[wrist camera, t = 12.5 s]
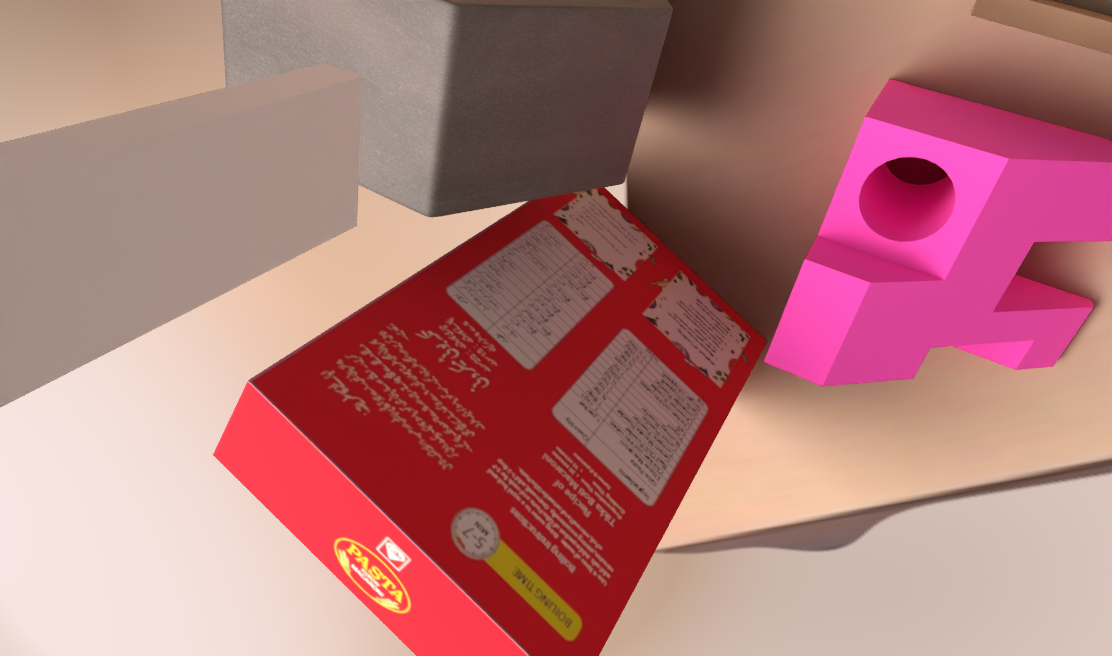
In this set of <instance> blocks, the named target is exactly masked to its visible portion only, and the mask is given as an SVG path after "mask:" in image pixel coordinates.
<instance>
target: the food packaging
mask: <svg viewBox="0 0 1112 656" xmlns="http://www.w3.org/2000/svg"><path fill="white" fill-rule="evenodd" d="M766 343H767V341H766V340H765V339H764V338H763V337H762V336H761V335H760V334H759V333H758V332H757V331H756V330H755V329H754V328H753V327H752V326H751V325H750V324H748V323H747V322H746V321H745V320H744V319H743V318H742V317H741V316H740V315H739V314H738V313H737V312H736V311H735V310H734V309H733V308H732V307H730V306H729V305H728V304H727V303H726V302H725V301H724V300H723V299H722V298H721V297H720V296H719V295H718V294H717V293H716V292H715V291H714V290H712V289H711V288H710V287H709V286H708V285H707V284H706V283H705V282H704V281H703V280H702V279H701V278H700V277H699V276H698V275H697V274H696V273H694V272H693V271H692V270H691V269H690V268H689V267H688V266H687V265H686V264H685V263H684V262H683V261H682V260H681V259H680V258H679V257H678V256H676V255H675V254H674V253H673V252H672V251H671V250H670V249H669V248H668V247H667V246H666V245H665V244H664V243H663V242H662V241H661V240H659V239H658V238H657V237H656V236H655V235H654V234H653V233H652V232H651V231H650V230H649V229H648V228H647V227H646V226H645V225H644V224H643V223H641V222H640V221H639V220H638V219H637V218H636V217H635V216H634V215H633V214H632V213H631V212H630V211H629V210H628V209H627V208H626V207H625V206H623V205H622V204H621V203H620V202H619V201H618V200H617V199H616V198H615V197H614V196H613V195H612V194H611V193H610V192H609V191H607V189H605V188H604V187H603V188H597V189H591V190H586V191H580V192H574V193H569V194H563V195H558V196H552V197H546V198H541V199H535V200H529V201H528V202H526V203H525V204H523V205H522V206H520V207H519V208H517V209H515V210H514V211H512V212H511V213H509V214H508V215H506V216H505V217H503V218H501V219H500V220H498V221H497V222H495V223H494V224H492V225H490V226H489V227H487V228H486V229H484V230H483V231H481V232H479V233H478V234H476V235H475V236H473V237H472V238H470V239H469V240H467V241H465V242H464V243H462V244H461V245H459V246H458V247H456V248H455V249H453V250H451V251H450V252H448V253H447V254H445V255H444V256H442V257H440V258H439V259H438V260H436V261H434V262H433V263H431V264H429V265H428V266H426V267H425V268H423V269H422V270H420V271H419V272H417V273H415V274H414V275H412V276H411V277H409V278H408V279H406V280H404V281H403V282H401V283H400V284H398V285H397V286H395V287H394V288H392V289H390V290H389V291H387V292H386V293H384V294H383V295H381V296H379V297H378V298H376V299H375V300H373V301H372V302H370V303H369V304H367V305H365V306H364V307H362V308H361V309H359V310H358V311H356V312H354V313H353V314H351V315H350V316H348V317H347V318H345V319H344V320H342V321H340V322H339V323H337V324H336V325H334V326H333V327H331V328H329V329H328V330H326V331H325V332H323V333H322V334H321V335H319V336H317V337H316V338H314V339H312V340H311V341H309V342H308V343H306V344H304V345H303V346H301V347H300V348H298V349H297V350H295V351H293V352H292V353H290V354H289V355H287V356H286V357H284V358H283V359H281V360H279V361H278V362H276V363H275V364H273V365H272V366H270V367H268V368H267V369H265V370H264V371H262V372H261V373H259V374H258V375H256V376H255V377H253V378H251V379H250V380H248V382H247V384H246V386H245V388H244V390H243V393H242V395H241V397H240V399H239V401H238V403H237V405H236V407H235V409H234V411H233V414H232V416H231V418H230V420H229V422H228V424H227V426H226V428H225V431H224V433H223V435H222V437H221V439H220V441H219V443H218V445H217V447H216V450H215V452H214V454H213V455H214V456H215V457H216V458H217V459H218V460H219V461H220V462H221V463H222V464H223V465H224V466H225V467H226V468H227V469H228V470H229V471H230V472H231V473H232V474H233V475H234V476H235V477H236V478H237V479H238V480H239V481H240V482H241V483H242V484H243V485H244V486H245V487H246V488H247V489H248V490H249V491H250V492H251V493H252V494H253V495H254V496H255V497H256V498H257V499H258V500H259V501H260V502H261V503H262V504H263V505H264V506H265V507H266V508H267V509H269V511H270V512H271V513H272V514H273V515H274V516H275V517H276V518H278V519H279V520H280V522H281V523H282V524H283V525H285V526H286V527H287V528H288V529H289V530H290V531H291V532H292V533H293V534H294V535H295V536H296V537H297V538H298V539H299V540H300V541H301V542H302V543H303V544H304V545H305V546H306V547H307V548H308V549H309V550H310V551H311V552H312V553H313V554H314V555H315V556H316V557H317V558H318V559H319V560H320V561H321V562H322V563H323V564H324V565H325V566H326V567H327V568H328V569H329V570H330V571H331V572H332V573H333V574H334V575H336V577H337V578H338V579H339V580H340V581H341V582H342V583H343V584H344V585H345V586H346V587H347V588H348V589H349V590H350V591H351V592H352V593H354V594H355V596H356V597H358V599H359V600H361V601H362V602H363V603H364V604H365V605H366V606H367V607H368V608H369V609H370V610H371V611H372V612H373V613H374V614H375V615H376V616H377V617H378V618H379V619H380V620H381V621H382V622H383V623H384V624H385V625H386V626H387V627H388V628H389V629H390V630H391V631H392V632H393V633H394V634H395V635H396V636H397V637H398V638H399V639H400V640H401V641H402V642H403V643H404V644H405V645H406V646H407V647H408V648H409V649H410V650H411V651H412V652H413V653H414V654H415V655H416V656H599V654H600V652H601V651H602V649H603V647H604V645H605V643H606V641H607V639H608V638H609V636H610V634H611V632H612V630H613V628H614V626H615V624H616V623H617V621H618V619H619V617H620V615H621V613H622V611H623V610H624V608H625V606H626V604H627V602H628V600H629V598H630V596H631V595H632V592H633V591H634V589H635V587H636V585H637V583H638V582H639V579H640V578H641V576H642V574H643V572H644V570H645V569H646V567H647V565H648V563H649V561H650V559H651V557H652V556H653V554H654V552H655V550H656V548H657V546H658V544H659V542H660V541H661V539H662V537H663V535H664V533H665V531H666V529H667V528H668V526H669V524H670V522H671V520H672V518H673V516H674V515H675V513H676V511H677V509H678V507H679V505H680V503H681V502H682V500H683V498H684V496H685V494H686V492H687V490H688V488H689V487H690V485H691V483H692V481H693V479H694V477H695V475H696V474H697V472H698V470H699V468H700V466H701V464H702V462H703V461H704V459H705V457H706V455H707V453H708V451H709V449H710V447H711V446H712V444H713V442H714V440H715V438H716V436H717V434H718V433H719V431H720V429H721V427H722V425H723V423H724V421H725V420H726V418H727V416H728V414H729V412H730V410H731V408H732V406H733V405H734V403H735V401H736V399H737V397H738V395H739V393H740V392H741V390H742V388H743V386H744V384H745V382H746V380H747V379H748V377H749V375H750V373H751V371H752V369H753V367H754V365H755V364H756V362H757V360H758V358H759V356H760V354H761V352H762V351H763V349H764V347H765V345H766Z"/></svg>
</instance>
